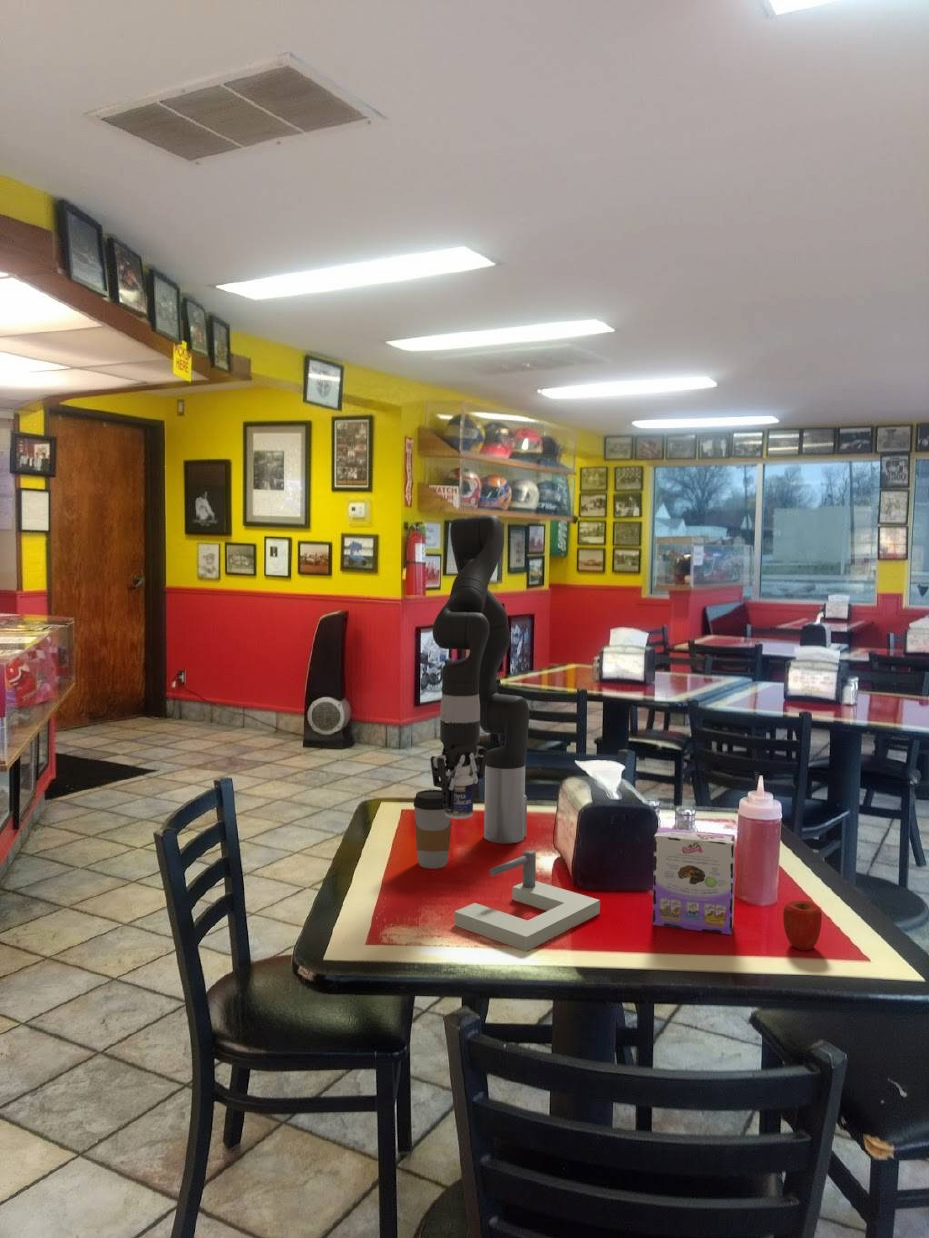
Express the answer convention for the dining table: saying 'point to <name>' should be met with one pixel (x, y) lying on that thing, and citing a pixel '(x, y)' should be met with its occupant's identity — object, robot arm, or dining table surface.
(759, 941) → the dining table surface
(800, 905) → the apple
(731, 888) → the candy box
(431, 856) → the coffee cup
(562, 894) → the grey u-shaped piece
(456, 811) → the pill bottle
